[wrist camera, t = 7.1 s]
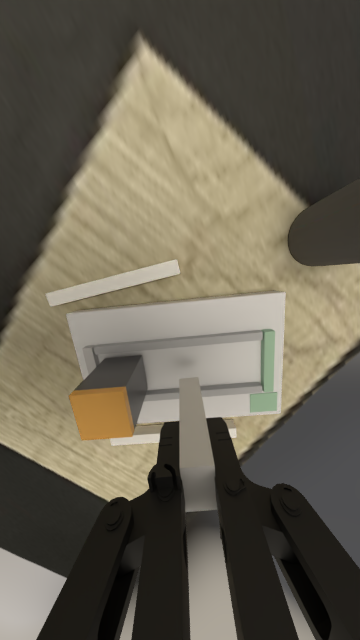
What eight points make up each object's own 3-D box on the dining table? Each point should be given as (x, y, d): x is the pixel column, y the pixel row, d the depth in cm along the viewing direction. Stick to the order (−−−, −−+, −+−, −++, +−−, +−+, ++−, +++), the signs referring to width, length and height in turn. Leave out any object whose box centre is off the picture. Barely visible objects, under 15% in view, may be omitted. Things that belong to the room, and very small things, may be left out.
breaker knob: (112, 391, 19) (81, 440, 14) (104, 358, 18) (68, 395, 13) (147, 388, 19) (132, 437, 13) (142, 354, 18) (123, 391, 13)
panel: (102, 414, 23) (92, 432, 20) (77, 310, 20) (60, 315, 17) (272, 401, 22) (284, 418, 20) (275, 290, 19) (290, 292, 16)
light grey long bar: (115, 436, 24) (111, 445, 23) (113, 427, 24) (109, 437, 22) (233, 428, 23) (236, 437, 22) (233, 419, 23) (236, 428, 22)
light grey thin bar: (59, 304, 20) (50, 306, 18) (54, 292, 19) (45, 293, 18) (180, 273, 19) (180, 273, 17) (177, 260, 18) (176, 259, 17)
